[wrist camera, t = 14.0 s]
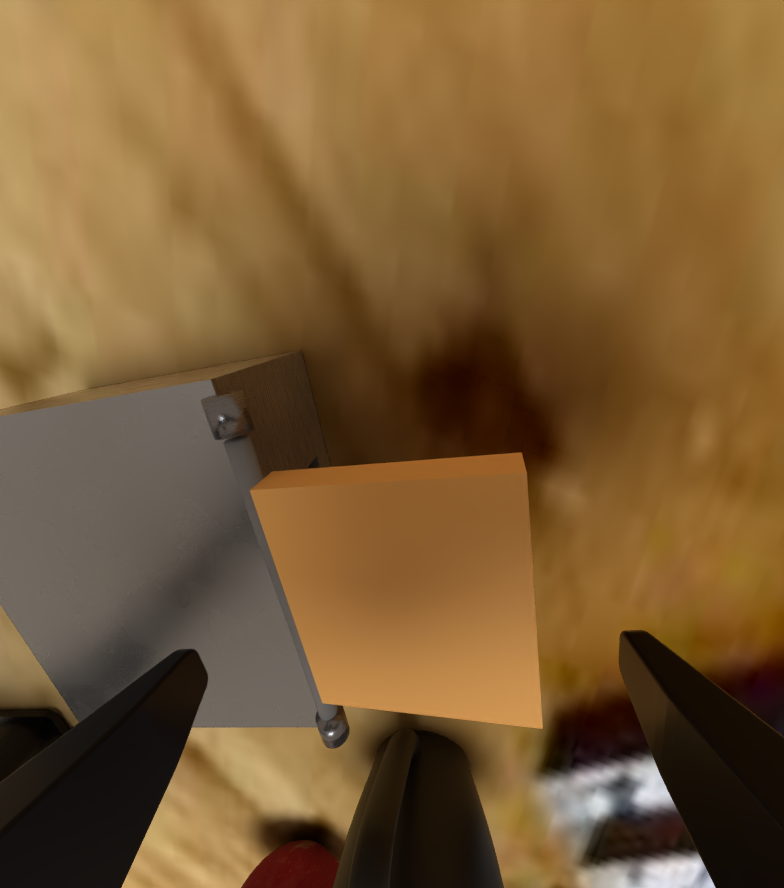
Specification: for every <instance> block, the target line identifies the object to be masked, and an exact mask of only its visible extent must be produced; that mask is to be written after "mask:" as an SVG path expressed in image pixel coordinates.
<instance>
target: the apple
mask: <svg viewBox="0 0 784 888" xmlns="http://www.w3.org/2000/svg"><path fill="white" fill-rule="evenodd" d="M338 866H339V863H338V861H337V859H336V858H335V857H334V856H333V855H332V854H331V853H330V852H329V851H328V850H327V849H326V848H325V847H323V846H322V845H321V844H319V843H318V842H315V841H312V840H299V841H293V842H289V843H287V844H284V845H282V846H281V847H279V848H277V849H276V850H274V851H273V852H272V853H270V854H269V855H268V856H267V857H266V858H265V859H264V860H263V861H262V862H261V863H260V864H259V865H258V866H257V867H256V868H255V869H254V870H253V872H252V873H251V874H250V876H249V877H248V878H247V880H246V881H245V883H244V884H243V886H242V887H241V888H333V885H334V881H335V878H336V874H337V870H338Z"/></svg>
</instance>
